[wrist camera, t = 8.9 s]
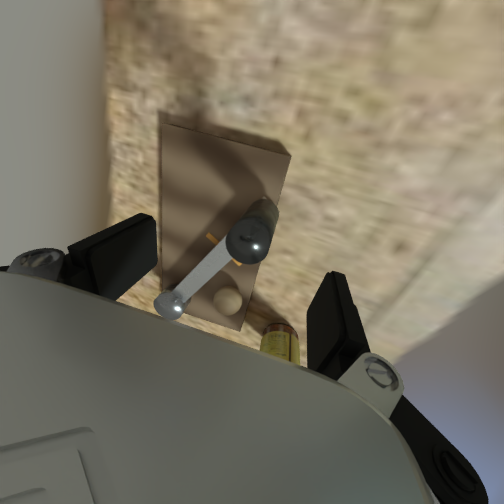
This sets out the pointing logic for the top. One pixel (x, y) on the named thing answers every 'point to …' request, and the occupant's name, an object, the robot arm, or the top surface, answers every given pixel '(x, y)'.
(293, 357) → the sauce bottle
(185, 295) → the lever
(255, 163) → the board
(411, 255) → the top surface
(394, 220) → the top surface
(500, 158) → the top surface
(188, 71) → the top surface
